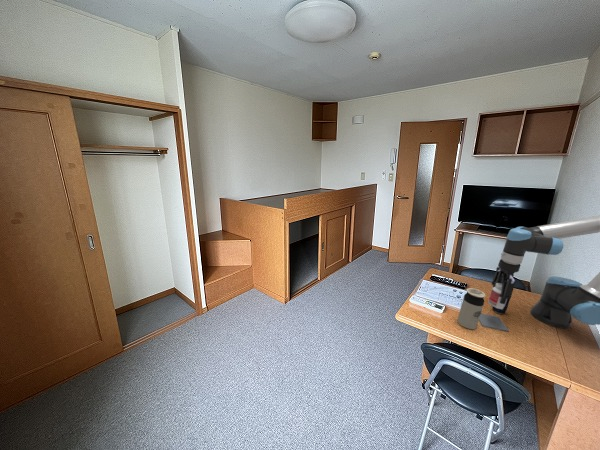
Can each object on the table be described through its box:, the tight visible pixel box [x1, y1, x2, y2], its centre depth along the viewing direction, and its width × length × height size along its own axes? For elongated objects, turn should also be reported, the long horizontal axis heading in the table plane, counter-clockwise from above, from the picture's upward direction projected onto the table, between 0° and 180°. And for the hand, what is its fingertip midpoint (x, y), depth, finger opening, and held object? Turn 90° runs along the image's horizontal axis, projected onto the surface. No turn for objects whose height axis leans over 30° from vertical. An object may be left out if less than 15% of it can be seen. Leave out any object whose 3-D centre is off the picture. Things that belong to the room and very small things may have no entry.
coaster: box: [478, 312, 510, 333], centre depth 122 cm, size 11×11×1 cm
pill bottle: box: [487, 283, 502, 307], centre depth 118 cm, size 6×6×11 cm
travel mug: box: [456, 287, 486, 330], centre depth 117 cm, size 8×8×18 cm
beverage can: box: [491, 299, 511, 315], centre depth 129 cm, size 6×6×12 cm
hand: (495, 304), depth 119 cm, fingers closed on pill bottle, 6 cm apart
